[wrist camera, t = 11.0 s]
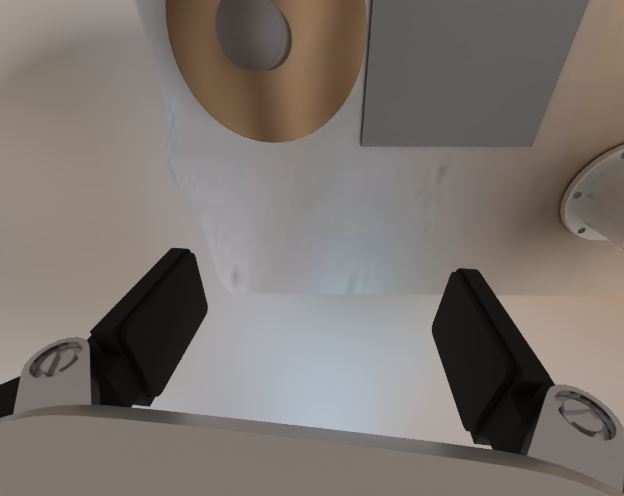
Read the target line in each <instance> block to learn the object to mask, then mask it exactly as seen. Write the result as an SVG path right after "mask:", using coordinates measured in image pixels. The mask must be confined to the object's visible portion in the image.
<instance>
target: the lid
mask: <svg viewBox="0 0 624 496" xmlns="http://www.w3.org/2000/svg"><path fill="white" fill-rule="evenodd" d="M166 20H167V27H168V33H169V39H170V43H171V46H172V50H173V54H174V57H175V59H176V62H177V65H178V67H179V70H180V72H181V74H182V76H183V78H184V80H185V82H186V84H187V85H188V87H189V88H190V90H191V92H192V93H193V95H194V96H195V97H196V99H197V100H198V101H199V103H200V104H201V105H202V106H203V107H204V108H205V110H206V111H207V112H208V113H209V114H210V115H211V116H212V117H214V118H215V119H216V120H217V121H218V122H219V123H221V124H222V125H224V126H225V127H227V128H228V129H230V130H231V131H233V132H235V133H237V134H239V135H241V136H244V137H247V138H249V139H253V140H257V141H262V142H272V143H273V142H286V141H291V140H295V139H298V138H301V137H304V136H306V135H308V134H310V133H312V132H314V131H316V130H317V129H319V128H320V127H321V126H323V125H324V124H325V123H326V122H328V121H329V120H330V119H331V118H332V117H333V116H334V115H335V114H336V112H337V111H338V110H339V109H340V108H341V106H342V105H343V103H344V102H345V100H346V99H347V97H348V96H349V94H350V92H351V90H352V88H353V86H354V84H355V81H356V79H357V76H358V73H359V71H360V67H361V63H362V59H363V55H364V49H365V41H366V7H365V0H166Z"/></svg>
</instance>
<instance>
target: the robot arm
mask: <svg viewBox="0 0 624 496" xmlns="http://www.w3.org/2000/svg"><path fill="white" fill-rule="evenodd" d="M560 214H561V220H562V222H563V224H564V226H565V227H566V228H567V229H568V230H569V231H570V232H572V233H573V234H575V235H576V236H578V237H581V238H583V239H587V240H592V241H606V240H610V241H612V242H614V243H615V244H617V245H618V246H620V247H622V248H623V249H624V144H623V145H620V146H618V147H616V148H614V149H612V150H610V151H608V152H606V153H604V154H603V155H601V156H600V157H598V158H596V159H595V160H594V161H593V162H591V163H590V164H589V165H587V166H586V167H585V168H584V169H583V170H582V171H581V172H580V173H579V174H578V175H577V176H576V177H575V179H574V180H573V181H572V183H571V184H570V185H569V187H568V189H567V190H566V192H565V194H564V197H563V199H562V202H561V209H560ZM207 309H208V305H207V301H206V297H205V293H204V289H203V285H202V281H201V277H200V273H199V269H198V265H197V261H196V257H195V255H194V253H191V251H190V250H189V249H182V248H171V249H170V250H169V251H168V252H167V253H166V254H165V255H164V256H163V257H162V258H161V259H160V260H159V261H158V262H157V264H155V265H154V266H153V267H152V268H151V270H150V271H149V272H148V273H147V274H146V275H145V276H144V277H143V278H142V279H141V280H140V281H139V282H138V283H137V284H136V285H135V286H134V287H133V288H132V289H131V290H130V291H129V292H128V293H127V294H126V295H125V296H124V297H123V298H122V299H121V300H120V301H119V302H118V303H117V304H116V305H115V307H113V308H112V309H111V311H110V312H109V313H108V314H107V315H106V316H105V317H104V318H103V319H102V320H101V321H100V322H99V323H98V324H97V325H96V326H95V327H94V328H93V329H92V330H91V331H90V333H91V334H92V335H91V336H90V337H89V338H88V340H87V341H86V340H85V339H84V338H78V337H73V338H66V339H62V340H59V341H56V342H54V343H52V344H50V345H48V346H46V347H44V348H43V349H41V350H40V351H38V352H37V353H36V354H35V355H33V356H32V357H31V358H30V359H29V361H28V362H27V363H26V364H25V365H24V368H23V370H22V372H21V376H20V377H17V378H15V379H12V380H10V381H8V382H6V383H3V384H1V385H0V496H624V428H623V426H622V424H621V423H620V421H619V419H618V418H617V417H616V416H615V415H614V413H613V412H612V411H611V410H610V409H609V408H608V407H606V405H604V404H603V403H602V402H601V401H600V400H598V399H597V398H595V397H593V396H592V395H590V394H589V393H587V392H585V391H583V390H580V389H578V388H576V387H572V386H568V385H555V384H554V383H553V381H552V379H551V378H550V376H549V374H548V373H547V371H546V370H545V368H544V367H543V365H542V364H541V362H540V361H539V359H538V358H537V356H536V355H535V354H534V352H533V350H532V349H531V348H530V346H529V345H528V343H527V342H526V340H525V339H524V337H523V336H522V334H521V333H520V331H519V330H518V328H517V327H516V325H515V324H514V322H513V321H512V319H511V318H510V316H509V315H508V313H507V312H506V310H505V309H504V307H503V306H502V304H501V303H500V301H499V300H498V299H497V297H496V296H495V294H494V293H493V291H492V290H491V288H490V287H489V285H488V284H487V282H486V281H485V279H484V278H483V276H482V275H481V273H480V272H479V271H478V270H476V269H463V268H459V269H458V270H457V271H456V272H452V273H451V275H450V278H449V280H448V283H447V286H446V289H445V291H444V294H443V297H442V300H441V303H440V305H439V309H438V311H437V314H436V316H435V319H434V322H433V325H432V334H433V338H434V340H435V344H436V346H437V350H438V353H439V355H440V358H441V361H442V364H443V367H444V370H445V373H446V376H447V379H448V382H449V385H450V388H451V391H452V394H453V397H454V400H455V403H456V406H457V409H458V412H459V415H460V418H461V421H462V424H463V426H464V428H465V430H466V431H470V433H471V436H472V439H473V442H474V444H481V445H490V446H491V447H492V450H490V449H483V448H475V447H469V446H461V445H454V444H447V443H439V442H431V441H423V440H415V439H407V438H398V437H390V436H382V435H373V434H365V433H357V432H348V431H340V430H331V429H322V428H314V427H305V426H297V425H288V424H279V423H271V422H262V421H253V420H243V419H235V418H226V417H216V416H208V415H198V414H189V413H180V412H171V411H162V410H151V409H141V408H131V407H132V405H133V404H134V405H140V406H150V405H151V404H152V402H153V400H154V398H155V397H157V396H159V395H160V394H161V393H162V392H163V390H164V388H165V387H166V385H167V383H168V381H169V379H170V378H171V376H172V374H173V372H174V370H175V369H176V367H177V365H178V364H179V362H180V360H181V358H182V356H183V354H184V353H185V351H186V349H187V347H188V346H189V344H190V342H191V340H192V339H193V337H194V335H195V333H196V332H197V330H198V328H199V326H200V325H201V323H202V321H203V319H204V318H205V316H206V313H207Z"/></svg>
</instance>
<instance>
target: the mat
mask: <svg viewBox="0 0 624 496" xmlns="http://www.w3.org/2000/svg"><path fill="white" fill-rule="evenodd" d="M588 1H589V0H372V13H371V26H370V39H369V52H368V65H367V78H366V91H365V104H364V117H363V130H362V143H361V146H532V144H533V141H534V138H535V136H536V133H537V131H538V128H539V126H540V123H541V121H542V118H543V116H544V113H545V111H546V108H547V105H548V103H549V100H550V98H551V95H552V93H553V90H554V88H555V85H556V83H557V80H558V78H559V75H560V72H561V70H562V67H563V65H564V62H565V60H566V57H567V55H568V52H569V50H570V47H571V45H572V42H573V39H574V37H575V34H576V32H577V29H578V27H579V24H580V22H581V19H582V17H583V14H584V11H585V9H586V6H587V4H588Z"/></svg>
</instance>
